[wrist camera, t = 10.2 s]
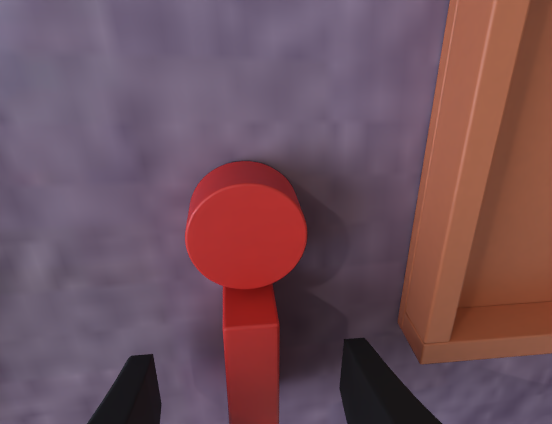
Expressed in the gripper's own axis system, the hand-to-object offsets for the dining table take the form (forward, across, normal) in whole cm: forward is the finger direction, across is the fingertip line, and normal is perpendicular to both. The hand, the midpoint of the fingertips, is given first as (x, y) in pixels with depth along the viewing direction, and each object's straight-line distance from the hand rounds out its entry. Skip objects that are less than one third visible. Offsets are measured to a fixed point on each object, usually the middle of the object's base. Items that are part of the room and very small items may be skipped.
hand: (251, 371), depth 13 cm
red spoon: (+1, 0, -2) cm, 2 cm away
